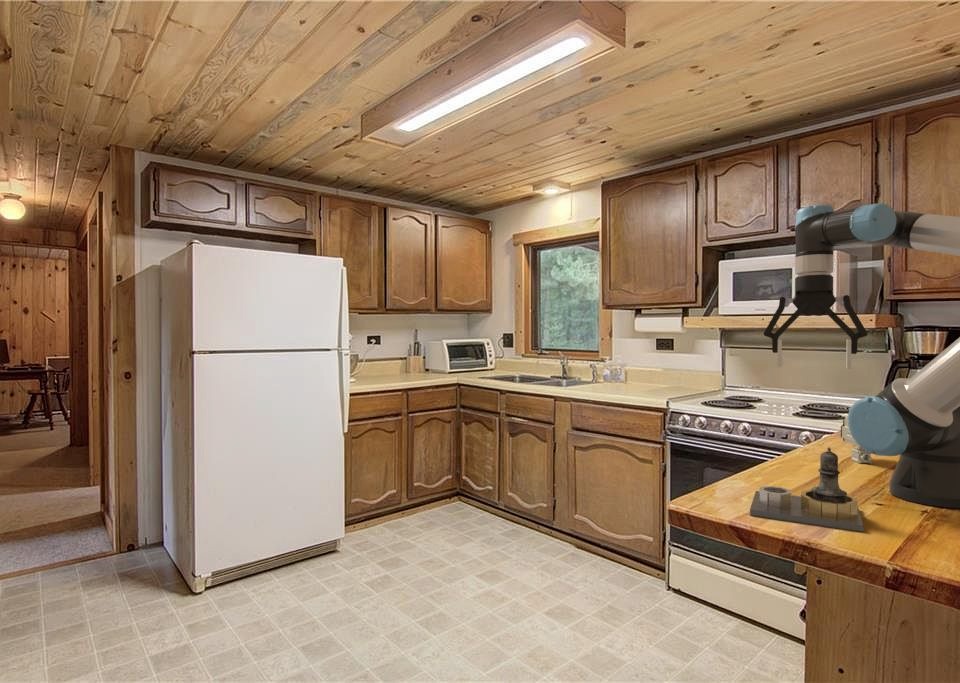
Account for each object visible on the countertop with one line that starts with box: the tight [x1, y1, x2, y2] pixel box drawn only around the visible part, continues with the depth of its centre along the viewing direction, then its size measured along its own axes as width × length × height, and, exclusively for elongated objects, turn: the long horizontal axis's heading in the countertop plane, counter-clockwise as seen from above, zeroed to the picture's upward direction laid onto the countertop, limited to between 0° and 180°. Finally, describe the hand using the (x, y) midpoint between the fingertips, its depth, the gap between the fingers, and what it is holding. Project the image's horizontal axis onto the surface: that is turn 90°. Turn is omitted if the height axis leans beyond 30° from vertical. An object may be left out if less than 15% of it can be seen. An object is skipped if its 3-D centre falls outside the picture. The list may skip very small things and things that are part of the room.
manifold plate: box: [749, 485, 864, 533], centre depth 109 cm, size 18×14×4 cm
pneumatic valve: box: [840, 418, 872, 464], centre depth 149 cm, size 6×12×12 cm, turn 174°
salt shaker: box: [810, 447, 848, 503], centre depth 107 cm, size 6×6×12 cm
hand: (813, 368), depth 128 cm, fingers open, 13 cm apart
